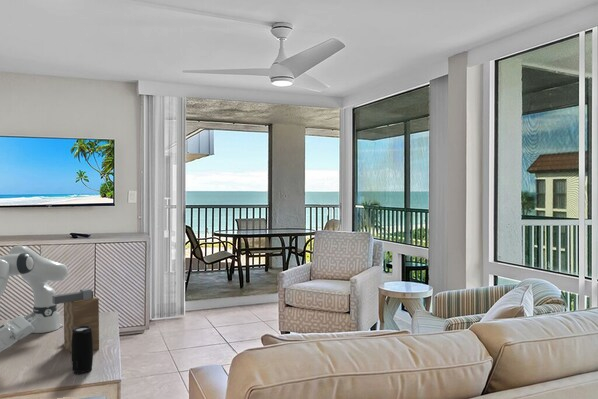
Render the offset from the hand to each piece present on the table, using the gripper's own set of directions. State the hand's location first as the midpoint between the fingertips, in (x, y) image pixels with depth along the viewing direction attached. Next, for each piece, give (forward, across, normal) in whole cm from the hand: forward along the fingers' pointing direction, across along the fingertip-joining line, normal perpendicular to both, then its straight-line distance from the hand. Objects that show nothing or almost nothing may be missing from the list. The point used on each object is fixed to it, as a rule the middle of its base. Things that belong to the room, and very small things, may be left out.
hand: (37, 315), depth 218 cm
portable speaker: (-1, -27, +25) cm, 37 cm away
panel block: (+7, +4, +30) cm, 31 cm away
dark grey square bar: (+16, 0, +4) cm, 17 cm away
